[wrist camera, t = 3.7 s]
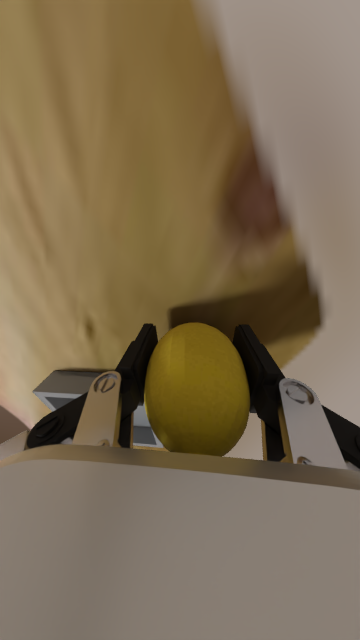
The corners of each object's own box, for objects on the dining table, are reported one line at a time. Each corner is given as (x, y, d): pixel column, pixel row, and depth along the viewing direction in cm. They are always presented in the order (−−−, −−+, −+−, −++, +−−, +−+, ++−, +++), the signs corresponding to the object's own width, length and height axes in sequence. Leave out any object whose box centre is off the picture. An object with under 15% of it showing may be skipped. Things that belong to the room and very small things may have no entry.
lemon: (164, 356, 13) (134, 485, 6) (157, 303, 10) (89, 433, 3) (223, 357, 13) (260, 498, 6) (233, 302, 10) (328, 451, 3)
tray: (54, 370, 16) (32, 391, 14) (156, 375, 15) (150, 398, 13) (92, 420, 22) (81, 440, 20) (166, 426, 21) (163, 447, 19)
